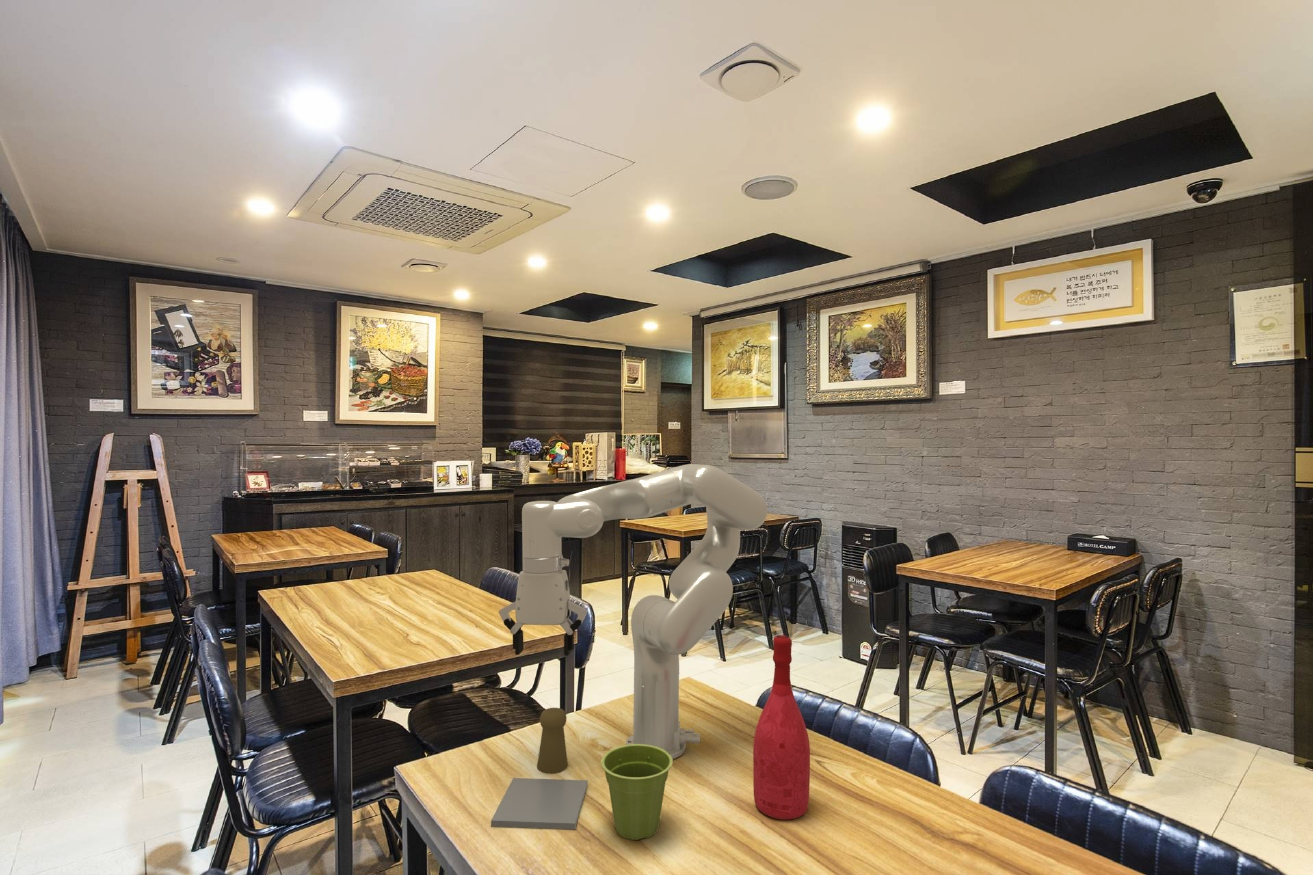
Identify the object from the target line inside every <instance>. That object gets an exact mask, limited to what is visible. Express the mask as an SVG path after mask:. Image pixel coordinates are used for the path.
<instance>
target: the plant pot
mask: <svg viewBox="0 0 1313 875" xmlns="http://www.w3.org/2000/svg"><path fill="white" fill-rule="evenodd" d="M600 760H601V761H600V764H601V767H602V769H603V771H604V773H605V778H606V782H607V785H608V790H609V791H608V792H609V797H610V803H611V810H612V815H613V823H614V828H615V831H616V832H617V834H618V835H619V837H620V836H621V837H623V838H625V839H627V840H632V841H638V840H641V839H643V838H648V839H649V838H651V837H653V836H654V835H656V833H657V831H659V827H660V826H659V825H660V820H661V815H662V807H663V801H664V795H665V794H664V793H665V787H666V782H667V780H668V777H669V776H668V774H669V771H670V769H671V768H672V765H673V762H674V761H673V760H674V759H672V757H671V755H670V754H669V753H668V752H667V751H665V750H663V749H661V748H659V747H656V746H652V745H646V744H630V745H626V744H623V745H620V746H616V747H614V748H612V749H610V750H608V751H607V752H606V753H604V755H603V756H602V757H601V759H600Z"/></svg>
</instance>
